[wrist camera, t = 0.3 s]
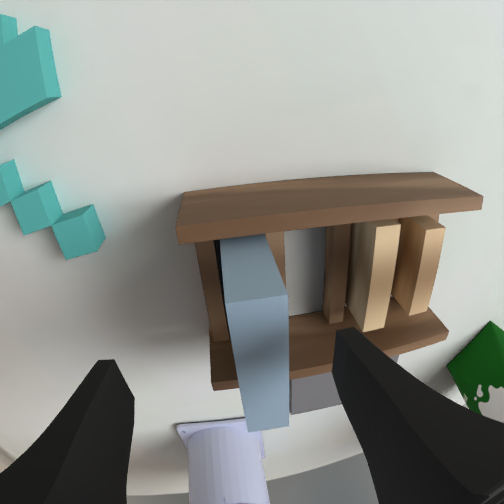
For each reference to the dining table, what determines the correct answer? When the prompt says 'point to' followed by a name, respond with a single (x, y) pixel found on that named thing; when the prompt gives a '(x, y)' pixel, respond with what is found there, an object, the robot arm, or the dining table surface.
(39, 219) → the alien figure
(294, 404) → the grey mat
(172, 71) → the dining table surface
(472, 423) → the robot arm
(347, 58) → the dining table surface
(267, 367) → the blue block
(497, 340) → the milk carton
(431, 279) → the offcut
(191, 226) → the rack
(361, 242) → the offcut
